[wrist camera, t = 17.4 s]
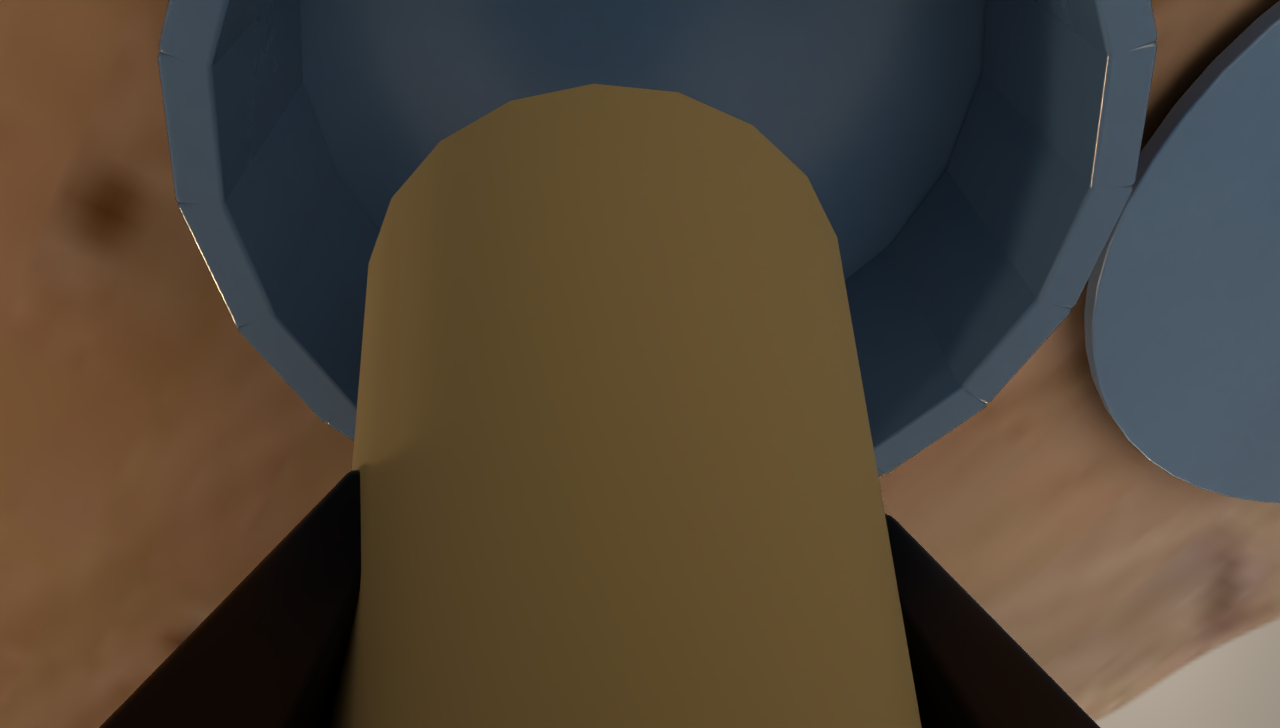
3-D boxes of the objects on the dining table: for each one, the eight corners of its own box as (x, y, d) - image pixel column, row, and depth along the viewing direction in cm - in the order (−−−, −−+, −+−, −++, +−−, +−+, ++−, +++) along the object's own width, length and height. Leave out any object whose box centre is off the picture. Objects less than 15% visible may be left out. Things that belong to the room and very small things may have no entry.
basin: (883, 391, 24) (951, 558, 19) (285, 329, 22) (212, 499, 18) (1149, -297, 16) (1368, -276, 11) (237, -488, 14) (78, -550, 9)
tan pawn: (772, 2, 10) (1979, 2111, 1) (886, 415, 14) (1454, 1807, 5) (271, 191, 11) (-874, 2166, 2) (492, 534, 15) (361, 1876, 6)
